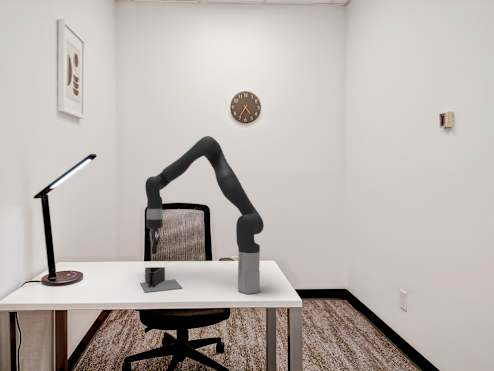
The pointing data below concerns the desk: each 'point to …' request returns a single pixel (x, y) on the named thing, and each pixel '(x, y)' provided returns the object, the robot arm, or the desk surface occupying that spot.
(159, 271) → the phone stand
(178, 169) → the robot arm
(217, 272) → the desk surface
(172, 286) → the mat
